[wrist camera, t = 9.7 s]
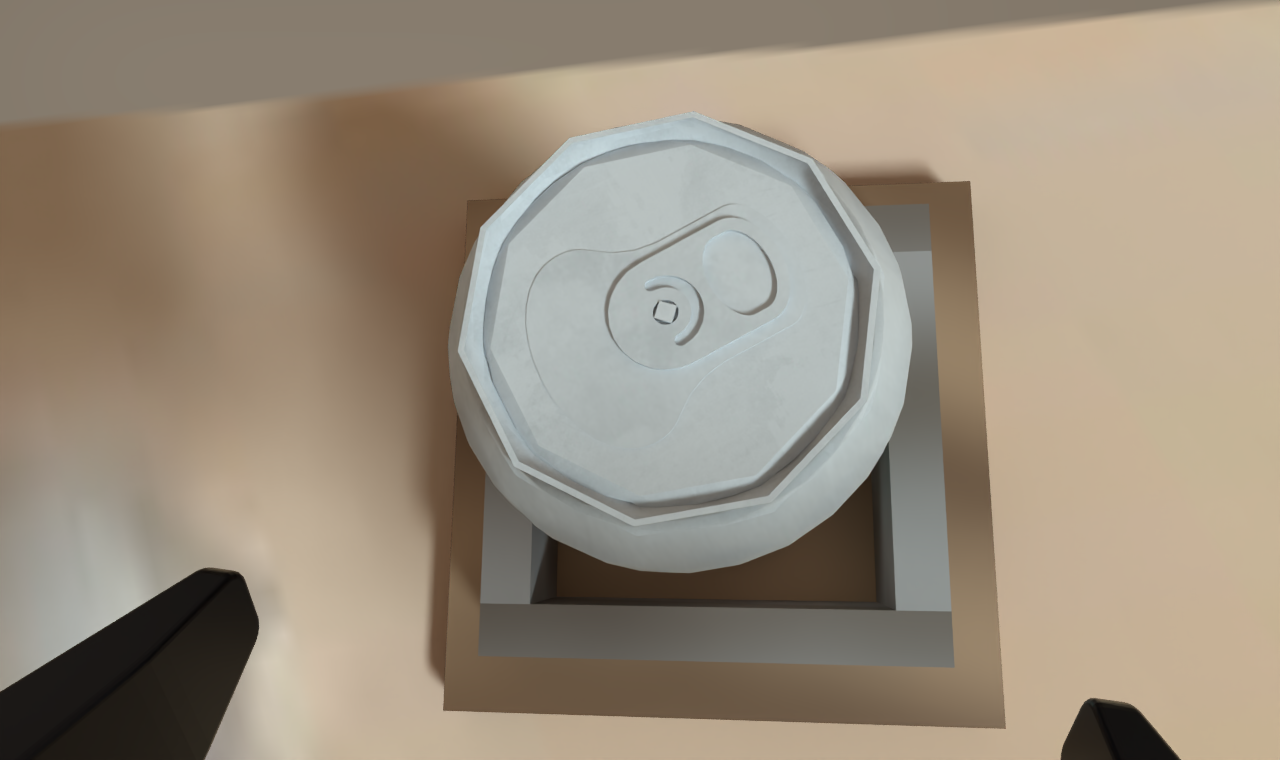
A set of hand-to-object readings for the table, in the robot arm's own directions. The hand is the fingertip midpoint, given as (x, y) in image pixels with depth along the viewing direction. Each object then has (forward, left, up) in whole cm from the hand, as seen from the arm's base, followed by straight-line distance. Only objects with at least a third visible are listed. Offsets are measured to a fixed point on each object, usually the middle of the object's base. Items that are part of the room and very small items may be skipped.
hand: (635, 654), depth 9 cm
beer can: (+3, 0, -10) cm, 11 cm away
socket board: (+4, 0, -11) cm, 12 cm away
